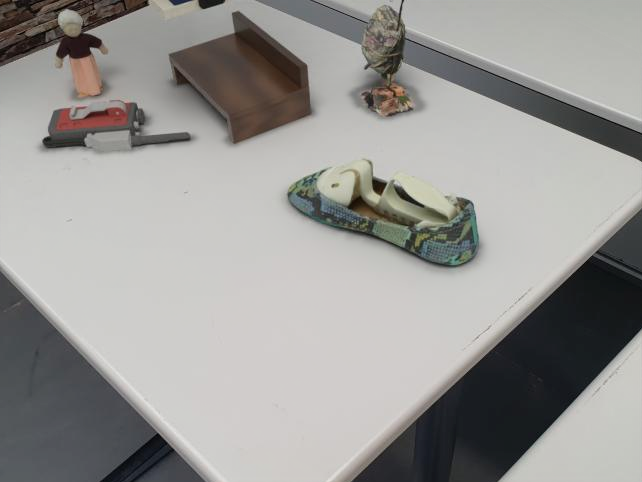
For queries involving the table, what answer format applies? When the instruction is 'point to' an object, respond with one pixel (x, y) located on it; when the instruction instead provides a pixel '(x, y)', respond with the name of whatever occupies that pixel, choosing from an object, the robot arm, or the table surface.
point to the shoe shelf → (246, 79)
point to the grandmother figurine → (79, 54)
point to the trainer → (175, 7)
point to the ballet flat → (391, 210)
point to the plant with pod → (385, 60)
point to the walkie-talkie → (102, 127)
